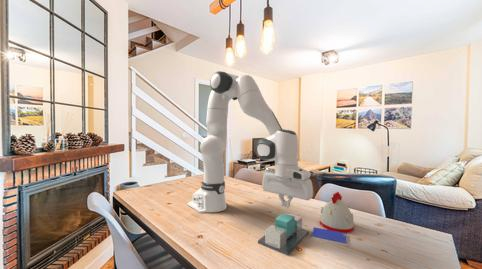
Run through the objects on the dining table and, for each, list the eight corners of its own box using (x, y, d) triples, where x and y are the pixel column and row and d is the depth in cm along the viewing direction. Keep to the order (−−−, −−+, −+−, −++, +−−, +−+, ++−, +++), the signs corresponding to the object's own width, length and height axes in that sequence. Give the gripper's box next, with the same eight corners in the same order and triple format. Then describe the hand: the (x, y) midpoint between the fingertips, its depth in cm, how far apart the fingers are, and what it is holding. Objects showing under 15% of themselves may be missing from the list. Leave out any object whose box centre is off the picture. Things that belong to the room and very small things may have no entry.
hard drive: (346, 232, 84) (313, 226, 89) (346, 242, 77) (311, 234, 82) (346, 236, 84) (313, 230, 89) (346, 246, 77) (311, 238, 82)
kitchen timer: (313, 224, 94) (314, 191, 93) (328, 216, 103) (329, 186, 102) (345, 236, 83) (346, 199, 83) (359, 226, 92) (360, 193, 92)
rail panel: (257, 243, 77) (258, 227, 77) (282, 224, 93) (282, 211, 93) (287, 255, 70) (287, 237, 70) (308, 233, 85) (309, 218, 85)
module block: (274, 234, 80) (274, 218, 80) (282, 227, 86) (283, 213, 85) (286, 238, 77) (286, 222, 77) (294, 231, 82) (294, 216, 82)
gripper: (259, 168, 85) (258, 202, 85) (308, 176, 72) (308, 215, 72) (267, 166, 90) (266, 198, 90) (314, 173, 77) (314, 210, 77)
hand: (285, 206), depth 81 cm, fingers closed
